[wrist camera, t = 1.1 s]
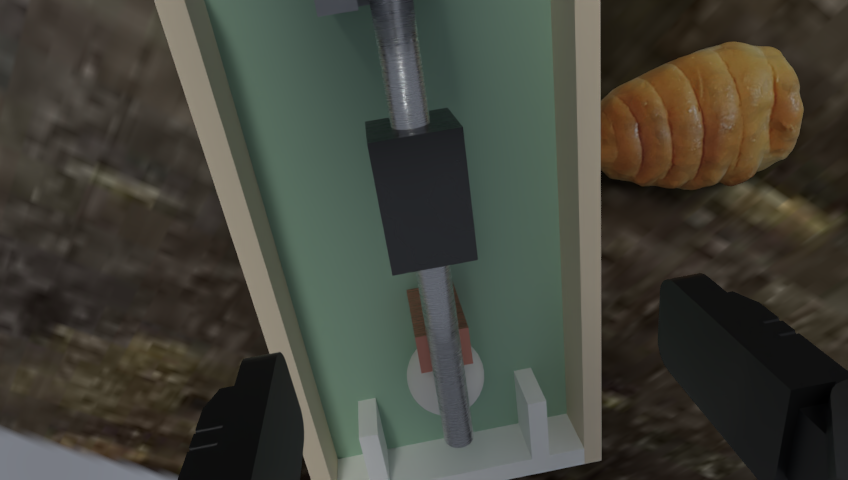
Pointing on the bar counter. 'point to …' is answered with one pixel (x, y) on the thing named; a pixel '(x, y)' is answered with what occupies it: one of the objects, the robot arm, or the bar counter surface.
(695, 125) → the pastry
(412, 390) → the ball
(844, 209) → the bar counter surface
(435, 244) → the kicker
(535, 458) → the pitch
